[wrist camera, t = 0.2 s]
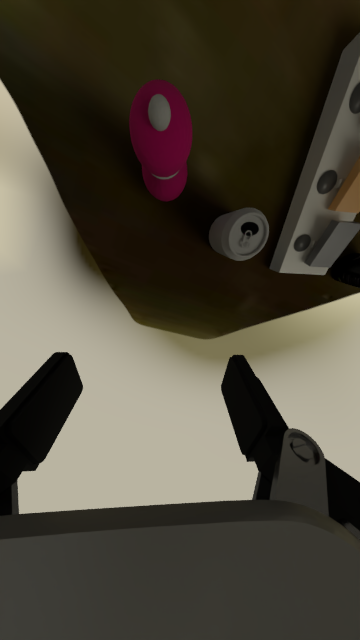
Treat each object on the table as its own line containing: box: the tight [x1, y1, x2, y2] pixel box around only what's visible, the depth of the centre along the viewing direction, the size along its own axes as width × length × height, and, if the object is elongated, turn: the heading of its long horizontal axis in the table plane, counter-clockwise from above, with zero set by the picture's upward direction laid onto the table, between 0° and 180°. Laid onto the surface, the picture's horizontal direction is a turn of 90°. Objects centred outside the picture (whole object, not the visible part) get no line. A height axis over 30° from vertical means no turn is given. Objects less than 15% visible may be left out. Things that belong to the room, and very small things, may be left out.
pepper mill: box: [129, 80, 192, 201], centre depth 20 cm, size 7×7×20 cm
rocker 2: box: [304, 220, 360, 268], centre depth 30 cm, size 8×5×2 cm, turn 176°
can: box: [209, 208, 269, 261], centre depth 29 cm, size 8×8×12 cm
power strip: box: [269, 33, 360, 275], centre depth 27 cm, size 39×11×5 cm, turn 176°
